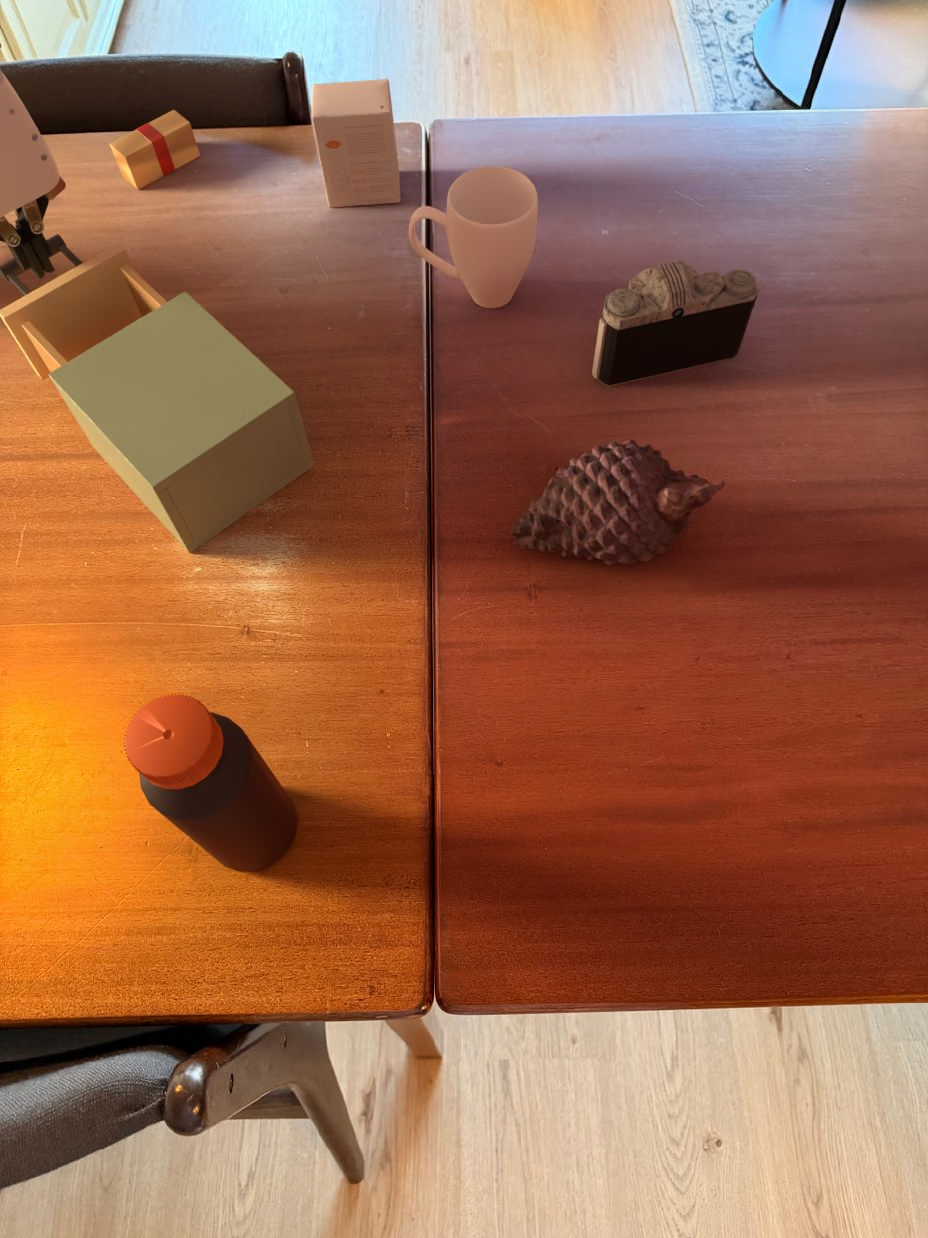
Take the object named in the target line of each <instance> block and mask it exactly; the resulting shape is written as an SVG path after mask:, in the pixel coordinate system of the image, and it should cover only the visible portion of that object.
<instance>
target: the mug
mask: <svg viewBox="0 0 928 1238" xmlns="http://www.w3.org/2000/svg"><path fill="white" fill-rule="evenodd" d="M538 197H539V196H538V191H537V189H536V187H535V185H534V183H533V182H532V181H531V180H530V179H529V178H528V176H526V175H525V174H523V173H521V172H520V171H518V170H515V169H512V168H510V167H505V166H496V165H493V166H492V165H489V166H482V167H476V168H473V169H471V170H468V171H466V172H464V173H463V174H461V175H460V176H458V177H457V178H456V179H455V180H454V181H453V182H452V184H451V185H450V187H449V189H448V192H447V196H446V213H444V212H443V211H441V210H439V209H437V208H435V207H433V206H430V205H423V206H420V207H418V208H417V209H416V210H415V211H414V212H413V213H412V215H411V217H410V220H409V223H408V224H409V225H408V237H409V241H410V243H411V246H412V248H413V250H414V251H415V253H416V254H417V255H418V256H419V257H420V258H422V259H423V260H424V261H425V262H427V263H428V264H429V265H431V266H432V267H434V268H435V269H437V270H438V271H440V272H442V273H443V274H445V275H446V276H448V277H450V278H452V279H456V280H462V282H463V285H464V286H465V288H466V290H467V292H468V293H469V296H470V297H471V299H472V301H473V302H474V303H475V304H477V305H478V306H480V307H481V308H482V307H483V308H485V309H497V308H501V307H503V306H505V305H507V304H508V303H510V301H511V300H512V298H513V297H514V295H515V292H516V291H517V289H518V287H519V285H520V283H521V282H522V280H523V277H524V276H525V273H526V271H527V269H528V268H529V265H530V263H531V260H532V257H533V255H534V252H535V246H536V240H537V226H538V210H539V208H538V207H539V198H538ZM425 219H426V220H431V221H433V222H435V223H436V224H438V225H439V226H441V228H443V229H444V230H445V234H446V237H447V243H448V248H449V252H450V256H451V258H452V260H453V263H454V265H452V264H450V263H448V262H447V261H446V260H444V259H442V258H440V257H439V256H438V255H436V254H435V253H433V252H432V251H430V250H429V249H428V248H427V247H425V245H424V244H422V242H421V241H420V240H419V238H418V237H417V234H416V225H417V224H418V223H419V222H421V221H422V220H425Z"/></svg>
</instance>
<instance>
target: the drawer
mask: <svg viewBox="0 0 928 1238" xmlns="http://www.w3.org/2000/svg"><path fill="white" fill-rule="evenodd" d="M64 240H65V239H63V238H62V236H61V235H60V234H59V233H56V234H54V235H53V236H51V237H49V238H48V239H46V241H47V243H48V245H49V247H50V249H51V251H52V253H53V255H52V256H50V257H48V258H49V259H50V258H52V257H53V256H55V255H58V254H59V253H61V254H63V256H65V257H66V258H67V259H68V260H69V261H70V263H72V264H73V265H74V266H75V267H73V268H71V269H70V270H67V271H66V272H64V273H62V274H60V275H59V276H57V277H55V278H54V279H52V280H50V281H48V282H47V283H45V284H43V285H42V286H39V287H38V288H35V290H32V291H31V290H30V289H29V287H27V286H26V285H25V283H23V281H22V280H21V279H20V278H19V277H18V276H19V275H21V274H23V273H25V272H26V271H29V270H30V269H29V268H28V269H26V270H23V269H22V268H21V267H20V266H19V264H18V263H17V261H16V260H15V258H14V257H13V258H11V259H10V260H8V261H6V262H4V263H3V264H1V265H0V275H1V276H2V278H3V279H4V280H5V281H6V282H9V281H10V282H11V283H12V284H13V286H15V287H16V289H18V290H19V291H20V293H21V294H22V295H23V296H22V297H21V298H18V299H17V300H15V301H13V302H12V303H10V304H8V305H6V306H4V307H3V308H1V309H0V319H1V320H2V322H3V323H4V325H5V326H6V328H7V330H8V331H9V332H10V334H11V335H12V338H13V339H14V340H15V342H16V344H17V345H18V347H19V348H20V350H21V352H22V353H23V354H24V356H25V357H26V359H27V361H28V362H29V364H30V366H31V367H32V369H33V370H34V372H35V373H36V375H37V376H38V377H39V378H40V379H41V380H42V381H45V380H46V379H48V378H50V377H49V375H48V374H49V373H51V372H52V371H54V370H56V369H57V368H59V367H61V366H62V365H64V364H66V363H67V362H69V361H71V360H72V359H74V358H76V357H77V356H79V355H81V354H82V353H84V352H86V351H87V350H89V349H91V348H92V347H94V346H95V345H97V344H99V343H100V342H102V341H104V340H105V339H107V338H109V337H110V336H112V335H114V334H115V333H117V332H119V331H120V330H122V329H124V328H125V327H127V326H129V325H130V324H132V323H134V322H135V321H137V320H139V319H140V318H142V317H144V316H145V315H147V314H149V313H150V312H152V311H154V310H155V309H157V308H159V307H160V306H162V305H164V304H165V303H167V302H168V301H167V299H166V298H164V297H163V296H162V294H160V293H159V292H158V291H157V290H156V289H155V288H154V287H153V286H151V284H149V283H148V282H147V281H146V279H144V278H143V277H142V276H141V275H140V274H139V273H138V272H137V271H136V270H135V268H134V267H133V264H132V262H131V259H130V257H129V255H128V252H127V250H126V248H125V247H124V246H123V245H121V244H120V243H119V242H117V243H115V244H114V245H112V246H110V247H108V248H106V249H105V250H103V251H101V252H100V253H98V254H96V255H94V256H92V257H91V258H89V259H87V260H86V261H84V262H83V261H82V260H81V259H80V258H79V257H78V256H77V255H76V254H75V253H73V251H72V250H71V249H70V248H68V246H67V243H66V241H64Z"/></svg>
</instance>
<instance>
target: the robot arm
mask: <svg viewBox="0 0 928 1238" xmlns="http://www.w3.org/2000/svg"><path fill="white" fill-rule="evenodd" d="M0 49H2V43H1V42H0ZM66 186H67V183H66V182H65V180H64V178H62V177H61V175H60V171H59V169H58V166H57V163H56V162H55V159H54V157H53V155H52V153H51V151H50V148H49V147H48V144H47V143H46V141H45V139H44V138H43V136H42V134H41V132H40V130H39V128H38V126H37V125H36V123H35V121H34V120H33V118H32V116H31V114H30V113H29V111H28V109H27V108H26V105H25V104H24V103H23V100H22V99H21V98H20V95H18V93H17V91H16V90H15V89H14V86H12V84H11V82H10V81H9V80H8V78H7V77H6V75H5V74H4V73H3V71H2V70H1V69H0V242H2V243H5V244H6V245H7V248H8V249H9V251H10V253H11V254H12V256H13V258H15V260H16V261H17V263H18V264H19V266H20V267H21V268H22V269H23V270H26V269H28V268H29V270H30V271H31V272H32V273H33V275H35V276H36V277H37V278H38V279H39V280H41V279H43V278H45V276H46V275H47V274H52V273H53V272H55V271H56V270H55V267H54V266H53V264H52V262H51V260H50V258H51V257H50V256H52V255H53V253H52V251H51V249H50V247H49V245H48V243H47V241H46V240H47V239H46V237H45V235H44V233H43V232H44V231H45V224H44V222H43V221H44V218H45V215H46V213H47V212H46V211H47V209H48V206H49V204H50V201H53V200H54V199H55V198H57V196H59V195H60V194H61V193H62V192H63V191H64V190H65V189H66ZM12 212H14V214H15V216H16V220H15V221H14V222H15V225H13V224H12V223H11V222H10V221H9V220H8V219H7V218H6V216H7V215H8V214H10V213H12ZM48 257H50V258H48ZM52 257H53V256H52Z"/></svg>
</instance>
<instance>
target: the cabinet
mask: <svg viewBox="0 0 928 1238" xmlns="http://www.w3.org/2000/svg"><path fill="white" fill-rule="evenodd" d="M48 375H49V377H48V378H50V380H51V381H52V383H53V385H54V386H55V388H56V390H57V392H58V393H59V394H60V396H61V397H62V399H63V401H64V402H65V404H66V405H67V407H68V409H69V411H70V413H71V414H72V415H73V417H74V418H75V420H76V422H77V423H78V425H79V426H80V429H81V430H82V431H83V433H84V435H85V436H86V438H87V440H88V441H89V443H90V444H91V446H92V448H93V449H94V450H95V451H96V453H98V454H99V455H100V457H101V458H102V459H103V460H104V461H105V462H106V463H107V465H109V467H110V468H111V469H112V470H113V471H114V472H115V473H116V474H117V475H118V476H119V478H120V479H121V480H122V481H123V482H124V483H125V485H127V487H128V488H129V489H130V490H131V491H132V492H133V493H134V494H135V495H136V496H137V497H138V499H139V500H140V501H141V502H142V503H143V504H144V505H145V507H146V508H148V510H149V511H150V512H151V513H152V514H153V515H154V516H155V517H156V518H157V520H159V522H160V523H161V524H162V525H163V526H164V528H166V529H167V530H168V531H169V533H170V534H171V535H172V536H173V537H174V539H176V540H177V541H178V543H179V544H180V545H181V546H182V547H183V548H184V549H185V550H186V552H187V553H189V554H191V553H193V552H194V551H196V550H197V549H199V548H200V547H202V546H203V545H205V544H206V543H207V542H209V541H210V540H211V539H212V538H214V537H216V536H217V535H218V534H220V533H221V532H223V531H224V530H225V529H227V528H228V527H229V526H231V525H232V524H234V523H235V522H236V521H238V520H239V519H241V518H242V517H244V516H245V515H247V514H248V513H249V512H251V511H253V510H254V509H255V508H257V507H258V506H260V505H261V504H262V503H264V502H265V501H266V500H268V499H269V498H271V497H272V496H274V495H275V494H276V493H278V492H279V491H281V490H282V489H283V488H285V487H286V486H288V485H289V484H290V483H292V482H293V481H295V480H296V479H298V478H299V477H300V476H302V475H304V474H305V473H306V472H307V471H309V470H311V469H312V468H313V467H315V466H316V464H315V461H314V457H313V453H312V450H311V446H310V443H309V439H308V436H307V432H306V429H305V425H304V422H303V418H302V414H301V411H300V407H299V404H298V400H297V396H296V393H295V391H294V390H293V389H292V388H291V387H290V386H288V385H287V384H286V382H284V380H282V379H281V378H280V377H279V376H278V375H277V374H275V372H273V371H272V370H271V369H270V368H269V367H268V366H267V365H266V364H265V363H264V362H263V361H262V360H261V359H259V358H258V356H256V355H255V354H254V353H253V352H252V351H250V349H248V348H247V346H245V345H244V344H243V343H242V342H241V341H240V340H239V339H237V337H235V336H234V335H233V333H231V332H230V331H229V330H228V329H227V328H226V327H225V326H223V325H222V324H221V323H220V322H219V320H218V319H216V318H215V317H214V315H213V316H212V314H211V313H210V312H209V311H207V310H206V309H205V308H204V307H203V306H202V305H201V304H199V302H197V300H195V299H194V298H193V297H192V296H191V295H190V294H189V293H188V292H187V291H184V292H182V293H180V294H178V295H177V296H175V297H173V298H172V299H170V300H169V301H167V303H165V304H164V305H162V306H160V307H159V308H157V309H155V310H154V311H152V312H150V313H149V314H147V315H145V316H144V317H142V318H140V319H139V320H137V321H135V322H134V323H132V324H130V325H129V326H127V327H125V328H124V329H122V330H120V331H119V332H117V333H115V334H114V335H112V336H110V337H109V338H107V339H105V340H104V341H102V342H100V343H99V344H97V345H95V346H94V347H92V348H91V349H89V350H87V351H86V352H84V353H82V354H81V355H79V356H77V357H76V358H74V359H72V360H71V361H69V362H67V363H66V364H64V365H62V366H61V367H59V368H57V369H56V370H54V371H52V372H51V373H49V374H48Z"/></svg>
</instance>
